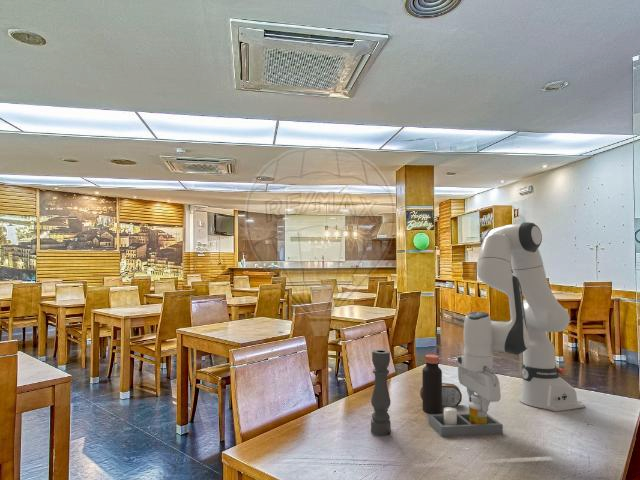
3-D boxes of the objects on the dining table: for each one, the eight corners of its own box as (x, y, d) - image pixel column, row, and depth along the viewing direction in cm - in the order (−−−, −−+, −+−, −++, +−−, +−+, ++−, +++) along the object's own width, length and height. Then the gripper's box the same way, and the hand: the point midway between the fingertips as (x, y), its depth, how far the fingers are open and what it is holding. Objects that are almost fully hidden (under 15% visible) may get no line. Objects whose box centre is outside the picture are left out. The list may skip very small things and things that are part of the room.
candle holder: (392, 429, 130) (392, 350, 131) (388, 437, 124) (389, 354, 125) (373, 426, 132) (373, 348, 133) (368, 434, 126) (369, 352, 127)
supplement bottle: (466, 424, 133) (465, 393, 133) (482, 423, 133) (481, 393, 134) (473, 430, 127) (473, 399, 128) (490, 430, 128) (489, 398, 128)
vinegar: (443, 411, 146) (443, 355, 147) (440, 417, 140) (440, 359, 141) (424, 408, 149) (424, 353, 150) (420, 414, 143) (420, 356, 144)
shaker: (453, 425, 131) (453, 407, 131) (459, 431, 127) (459, 411, 127) (441, 426, 130) (441, 407, 131) (447, 431, 126) (447, 412, 127)
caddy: (485, 423, 136) (485, 412, 136) (502, 436, 126) (502, 424, 126) (428, 425, 133) (428, 414, 133) (441, 438, 123) (441, 427, 123)
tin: (460, 405, 152) (460, 383, 153) (462, 408, 149) (462, 385, 149) (419, 404, 154) (419, 381, 154) (421, 407, 151) (421, 383, 151)
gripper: (505, 371, 121) (506, 418, 121) (471, 355, 142) (471, 396, 141) (486, 372, 120) (486, 419, 120) (454, 356, 141) (454, 396, 140)
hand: (478, 406), depth 130 cm, fingers open, 6 cm apart
